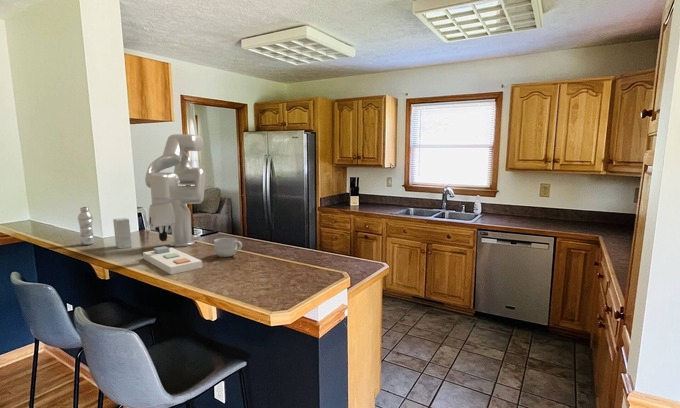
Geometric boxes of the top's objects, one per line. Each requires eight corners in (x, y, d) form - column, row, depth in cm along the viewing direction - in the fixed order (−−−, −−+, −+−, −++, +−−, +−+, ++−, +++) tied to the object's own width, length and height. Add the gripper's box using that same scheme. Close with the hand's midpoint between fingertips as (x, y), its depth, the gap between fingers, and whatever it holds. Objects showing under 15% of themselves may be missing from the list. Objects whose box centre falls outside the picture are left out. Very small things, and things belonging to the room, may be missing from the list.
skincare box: (132, 247, 188) (130, 219, 186) (118, 249, 183) (116, 220, 182) (127, 244, 194) (125, 217, 192) (114, 246, 189) (112, 218, 188)
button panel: (172, 253, 176) (171, 247, 176) (202, 267, 155) (202, 260, 154) (143, 258, 167) (142, 252, 167) (171, 274, 145) (170, 267, 145)
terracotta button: (185, 262, 157) (185, 257, 156) (190, 264, 153) (190, 260, 153) (173, 264, 153) (173, 260, 153) (178, 267, 150) (178, 262, 149)
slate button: (165, 250, 171) (165, 246, 171) (169, 252, 168) (169, 248, 168) (154, 252, 168) (153, 248, 168) (158, 254, 164) (157, 250, 164)
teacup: (209, 256, 172) (208, 240, 171) (226, 251, 181) (225, 235, 180) (231, 260, 165) (230, 243, 164) (247, 255, 175) (247, 239, 174)
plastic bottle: (87, 246, 188) (84, 208, 186) (76, 245, 190) (73, 208, 187) (98, 243, 195) (95, 206, 192) (87, 242, 196) (84, 206, 193)
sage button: (174, 257, 164) (174, 253, 164) (179, 259, 161) (179, 255, 160) (163, 259, 161) (163, 255, 160) (167, 261, 157) (167, 257, 157)
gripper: (174, 198, 171) (176, 236, 174) (140, 202, 160) (143, 242, 163) (181, 200, 166) (183, 239, 169) (146, 203, 155) (149, 245, 158)
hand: (163, 240), depth 166 cm, fingers closed
